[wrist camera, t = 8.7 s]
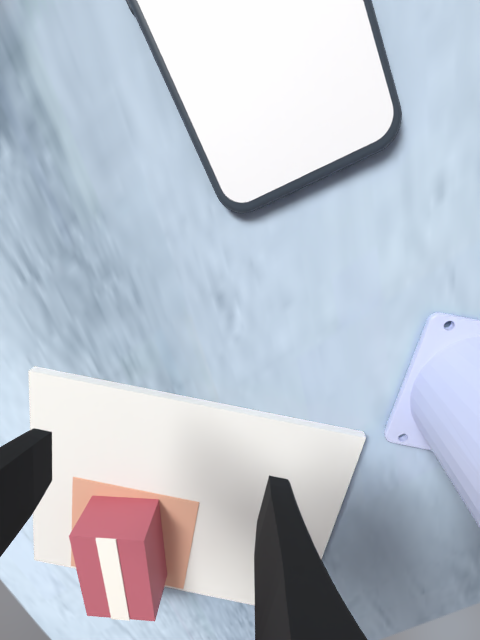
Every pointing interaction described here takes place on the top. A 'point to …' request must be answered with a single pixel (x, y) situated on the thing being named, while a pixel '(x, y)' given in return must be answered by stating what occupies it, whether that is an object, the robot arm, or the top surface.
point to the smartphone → (274, 88)
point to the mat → (183, 473)
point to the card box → (120, 557)
